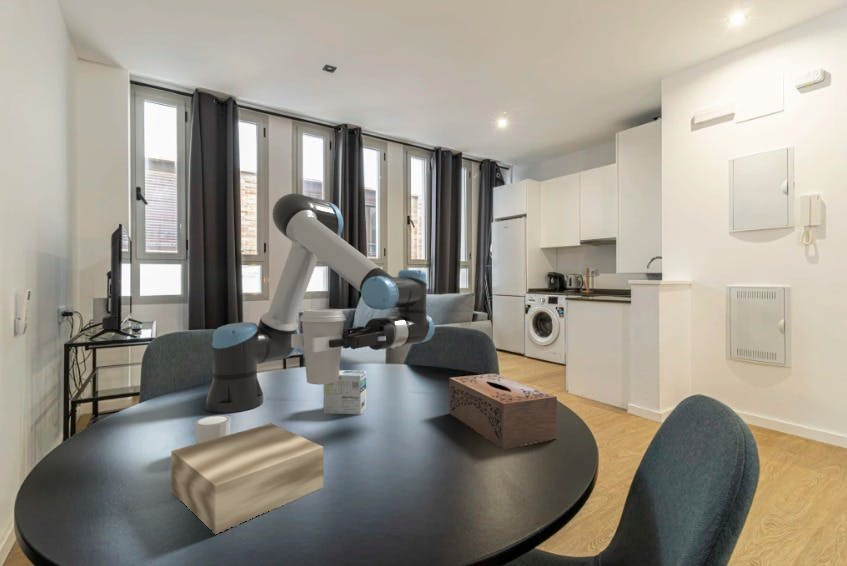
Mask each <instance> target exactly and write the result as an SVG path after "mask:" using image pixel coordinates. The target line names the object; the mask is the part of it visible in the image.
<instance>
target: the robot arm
mask: <svg viewBox="0 0 847 566" xmlns="http://www.w3.org/2000/svg"><path fill="white" fill-rule="evenodd" d="M272 220H273V223H274V225H275V227H276V228H277V230H278V231H279V232H280V233H281V234H282V235H283V236H285V237H286V238H287V239H288V240H290V241H291V242H292V243H291V246H290V249H289V252H288V255H287V258H286V259H285V263H284V266H283V269H282V272H281V275H280V277H279V280H278V283H277V285H276V289H275V292H274V295H273V297H272V300H271V303H270V305H269V309H268V311H267V312H265V313H263V314H261V316H260V320H259V321H258V322H259V323H258V324H257V323H255V322H254V321H253V322H252V321H247V322H246V321H245V322H243V321H241V322H238V323H237V322H235V323H229V324H225V325H222V326H219V327H217V328H216V329H215V330H214V332H213V335H212V343H211V346H212V381H211V382H212V383H211V385H210V388H209V391H208V393H207V396H206V399H205V409H206V411H208V412H211V413H218V414H221V413H223V414H224V413H226V414H227V413H237V412H243V411H248V410H251V409H255V408H257V407H260V406H261V405H263V403H264V393H263V390H262V387H261V384H260V381H259V379H258V365H261V364H265V363H270V362H274V361H281V360H283V359H286V358H289V357H291V356H292V355H294V354H295V352H296V351H298V349H299V348H302V347H303V348H304V339H303V332H302V333H300V330H299V324H298V323H297V320H296V319H297V316H298V313H299V311H300V308H301V305H302V303H303V300H304V297H305V294H306V292H307V290H308V287H309V284H310V281H311V279H312V275H313V274H314V271H315V268H316V265H317V262H318V260H320V261H321V262H323V263H324V264H325V265H327V266H328V267H329V268H331V270H332V271H334V272H335V273H337V274H338V275H339V276H341V278H343V279H344V280H345V281H346V282H348V283H349V284H350V285H352V286H353V287H354V288H355V289H356V290H358V291H359V292H360V293H361V298H362V300H363V302H364V304H365V305H366V306H367V307H368V308H369V309H373V310H379V311H385V310H389V309H390V310H391V309H396V308H397V315H396V316H387V317H386V316H385V317H377V318H376V317H375V318H371V319H369V320H368V321H367V322H366V324H365V326H363V325H362V326H359V325H358V326H356V327H348V326H347V327H343V335H338V336H329V337H319V338H313V352H321V351H327V350H334V349H341V350H342V348H343V349H349V348H350V349H351V350H355V349H362V348H366V347H369V348H370V349H371V350H374V351H378V350H384V349H385V350H386V349H388V348H389V349H392V350H395V349H396V347H402V346H407V345H414V344H415V345H418V344H421V343H425V342H427V341H429V340H431V339H432V338H433V336H434V334H435V329H436V328H435V327H436V325H435V324H434V320H433V319H432V317H430V315H428V314H427V291H428V290H427V288H428V284H427V273H426V272H425V271H424V270H419V269H418V270H417V269H402V270H400V271H398V273H397V276H391V274H389V273H387V272H386V271H385V270H384V269H382V268H381V267H380V266H378V265H377V264H376V263H375V262H374V261H372V260H371V259H370V258H368V257H367V256H366V255H364V254H363V253H361V252H360V251H359V250H358V249H356V248H355V247H354V246H352V245H351V244H349V242H347V241H346V240H345V239H344V238H342V237H340V235H341V234H342V232H343V229H344V218H343V216H342V212H341V210H340V209H339V208H338V206H337V205H336V204H334V203H332V202H329V201H327V200H324V199H321V198H320V199H319V198H316V197H312V196H309V195H305V194H301V193H289V194H288V193H287V194H285V195H282V196H281V197H279V198H278V199H277V201H275V203H274V206H273V209H272Z"/></svg>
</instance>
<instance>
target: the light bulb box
mask: <svg viewBox="0 0 847 566" xmlns="http://www.w3.org/2000/svg"><path fill="white" fill-rule="evenodd" d="M367 406H368V405H367V370H352V369H351V370H350V369H349V370H348V369H346V370H341V369H339V378H338V381H337V382H335V383H331V384H323V414H333V415H334V414H336V415H337V414H338V415H361V414H362V413H363V412H364V411H365V410H366V408H368V407H367Z"/></svg>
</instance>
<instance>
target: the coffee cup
mask: <svg viewBox="0 0 847 566" xmlns="http://www.w3.org/2000/svg"><path fill="white" fill-rule="evenodd" d="M299 318H300V319H299V321H300V322H301V326H302V333H303V339H304V347H303V349H304V351H303V352H304V362H305V374H306V375H305V377H306V382H307V383H308V384H310V385H324V384H331V383H335V382H337V381H338V378H339V370H340V366H341V355H342V354H341V353H342V348H341V349H334V350H327V351H321V352H313V338H319V337H329V336H338V335H343V328H344V325H345V324H344V323H345V321H347V317H346V315H345V314H344V311H343V309H339V308H309V309H308V308H307V309H304V310H303V313H302V315H301V316H300V317H299Z"/></svg>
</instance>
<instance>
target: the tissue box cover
mask: <svg viewBox="0 0 847 566" xmlns="http://www.w3.org/2000/svg"><path fill="white" fill-rule="evenodd" d="M448 383H449V386H448V389H449V390H448V391H449V392H448V393H449V394H448V395H449V402H448V403H449V404H448V405H449V406H448V407H449V409H448V411H449V413H450V415H451V414H452V415H453V416H452V415H451V416H452V417H454V416H455V417H456V419H457V418H458V419H459V420H458V419H457V420H458V421H460V420H461V421H462V422H461V421H460V422H461V423H463V422H464V423H465V424H464V423H463V424H464V425H466V424H467V425H468V426H467V425H466V426H467V427H469V426H470V427H471V428H470V427H469V428H470V429H472V428H473V429H474V431H475V430H476V431H477V433H478V432H479V433H480V434H479V433H478V434H479V435H481V434H482V435H483V438H485V437H486V439H487V440H488V439H489V440H488V441H490V442H491V441H492V442H491V443H493V442H494V443H495V444H494V443H493V444H494V445H496V446H497V445H498V446H497V447H499V448H500V447H501V448H500V449H502V450H508V449H512V448H511V447H514V448H517V447H516V446H519V447H522V446H521V445H524V446H526V445H525V444H530V443H535V442H540V441H545V442H547V441H546V440H551V439H556V438H557V439H558V437H557V436H558V435H557V434H558V430H557V429H558V428H557V427H558V422H557V421H558V398H557V397H558V396H556V395H554V394H551V393H548V392H546V391H542V390H540V389H537V388H534V387H531V386H529V385H527V384H524V383H521V382H519V381H516V380H513V379H510V378H508V377H505V376H503V375H500V374H497V373H486V374H477V375H465V376H455V377H449V381H448ZM449 413H448V414H449ZM455 417H454V418H455ZM473 429H472V430H473ZM476 431H475V432H476ZM482 435H481V436H482ZM557 439H556V440H557ZM551 441H552V440H551ZM540 443H541V442H540ZM535 444H536V443H535ZM530 445H531V444H530ZM507 448H508V449H507Z"/></svg>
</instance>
